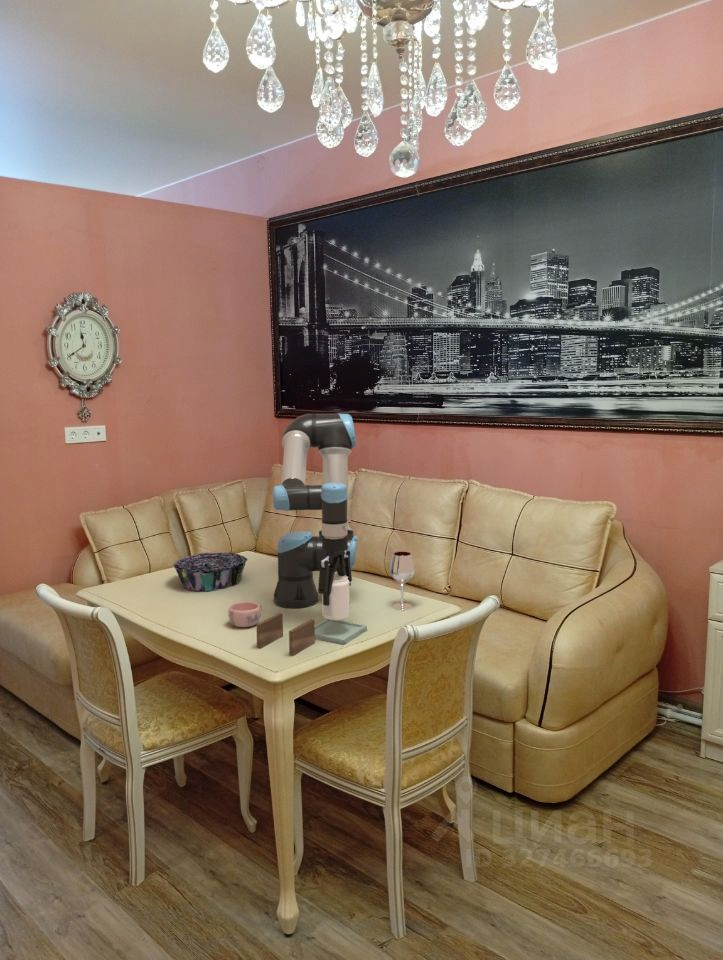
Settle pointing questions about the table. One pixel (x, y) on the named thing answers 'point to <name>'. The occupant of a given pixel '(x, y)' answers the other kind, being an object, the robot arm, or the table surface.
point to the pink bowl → (244, 614)
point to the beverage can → (339, 598)
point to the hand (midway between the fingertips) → (335, 610)
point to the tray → (338, 631)
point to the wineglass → (402, 574)
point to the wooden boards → (297, 637)
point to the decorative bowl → (210, 570)
